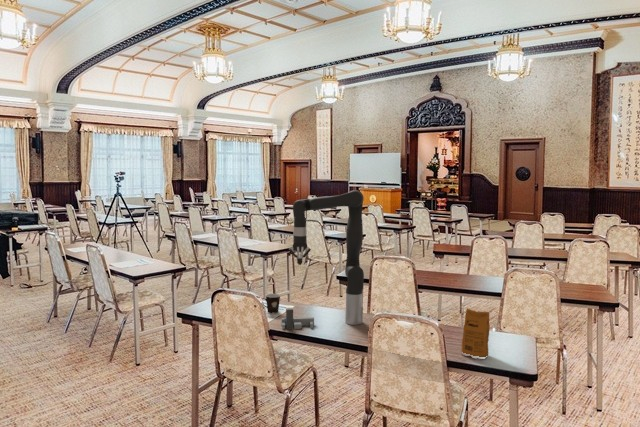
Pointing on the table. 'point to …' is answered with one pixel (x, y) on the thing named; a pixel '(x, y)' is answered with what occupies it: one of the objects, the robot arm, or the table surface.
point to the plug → (289, 317)
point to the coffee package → (476, 333)
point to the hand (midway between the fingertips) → (299, 264)
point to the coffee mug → (272, 302)
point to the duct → (299, 322)
